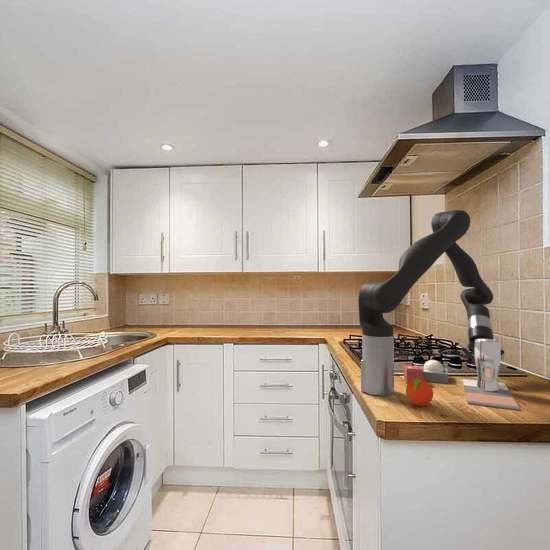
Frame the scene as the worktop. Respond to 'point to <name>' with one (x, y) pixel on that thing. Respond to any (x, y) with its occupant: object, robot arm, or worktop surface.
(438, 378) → the dome base
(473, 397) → the game board
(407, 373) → the die
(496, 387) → the beer glass
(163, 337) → the worktop surface
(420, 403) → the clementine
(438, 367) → the dome cap
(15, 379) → the worktop surface
